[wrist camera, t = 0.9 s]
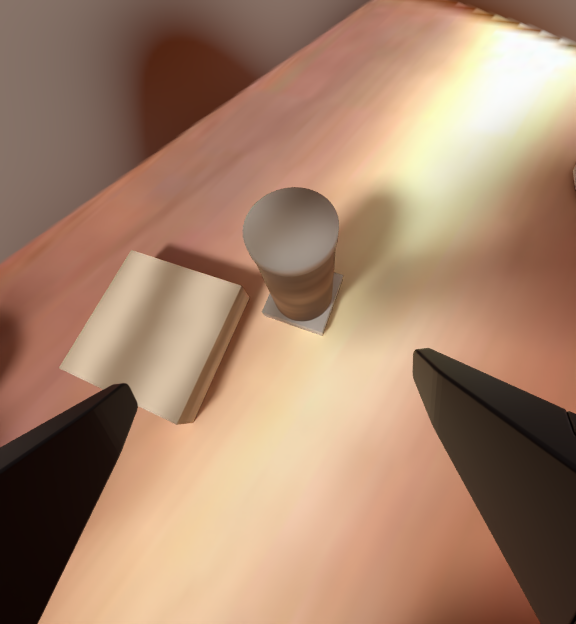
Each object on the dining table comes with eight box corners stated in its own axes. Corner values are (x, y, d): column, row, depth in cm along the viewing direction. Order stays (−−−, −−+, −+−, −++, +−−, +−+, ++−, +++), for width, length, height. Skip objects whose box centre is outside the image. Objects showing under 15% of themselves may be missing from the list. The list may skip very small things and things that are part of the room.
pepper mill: (342, 280, 24) (354, 197, 14) (322, 335, 22) (320, 284, 13) (286, 264, 25) (263, 177, 16) (264, 315, 24) (224, 255, 14)
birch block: (251, 299, 25) (241, 285, 22) (195, 422, 22) (176, 424, 19) (151, 266, 27) (131, 250, 24) (89, 372, 24) (58, 368, 22)
